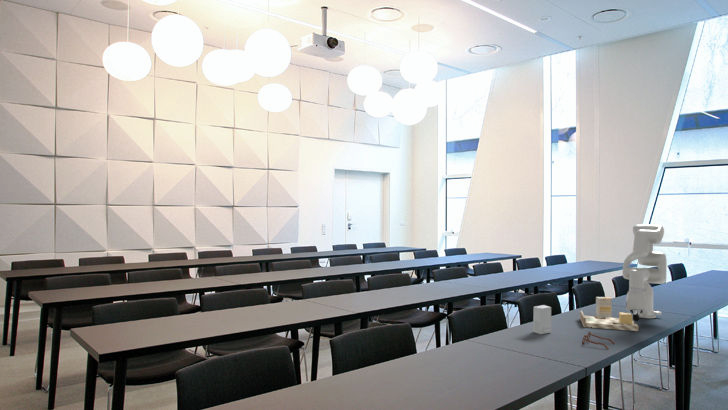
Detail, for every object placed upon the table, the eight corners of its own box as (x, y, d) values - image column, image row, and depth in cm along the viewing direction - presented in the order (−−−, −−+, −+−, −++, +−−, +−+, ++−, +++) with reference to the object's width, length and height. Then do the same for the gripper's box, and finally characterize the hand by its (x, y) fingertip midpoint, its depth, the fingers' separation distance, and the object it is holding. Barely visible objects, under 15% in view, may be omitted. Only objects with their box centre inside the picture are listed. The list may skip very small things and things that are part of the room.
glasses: (588, 340, 262) (588, 330, 262) (615, 344, 254) (615, 335, 254) (581, 345, 252) (581, 335, 252) (609, 350, 243) (609, 340, 243)
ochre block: (630, 321, 292) (630, 313, 292) (632, 323, 286) (632, 315, 286) (619, 320, 294) (619, 312, 294) (620, 322, 288) (621, 314, 288)
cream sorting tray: (631, 323, 298) (631, 314, 298) (638, 331, 279) (638, 321, 279) (579, 319, 307) (580, 310, 307) (583, 326, 288) (583, 317, 288)
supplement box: (608, 317, 314) (608, 296, 314) (611, 318, 309) (612, 298, 309) (595, 316, 315) (595, 296, 315) (598, 318, 310) (598, 297, 310)
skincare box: (543, 330, 279) (543, 304, 279) (551, 333, 274) (551, 306, 274) (532, 332, 276) (532, 305, 276) (540, 334, 270) (540, 308, 270)
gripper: (648, 290, 290) (648, 320, 290) (621, 288, 294) (620, 318, 294) (652, 292, 283) (651, 323, 283) (623, 290, 287) (623, 321, 287)
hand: (636, 321), depth 289 cm, fingers closed
